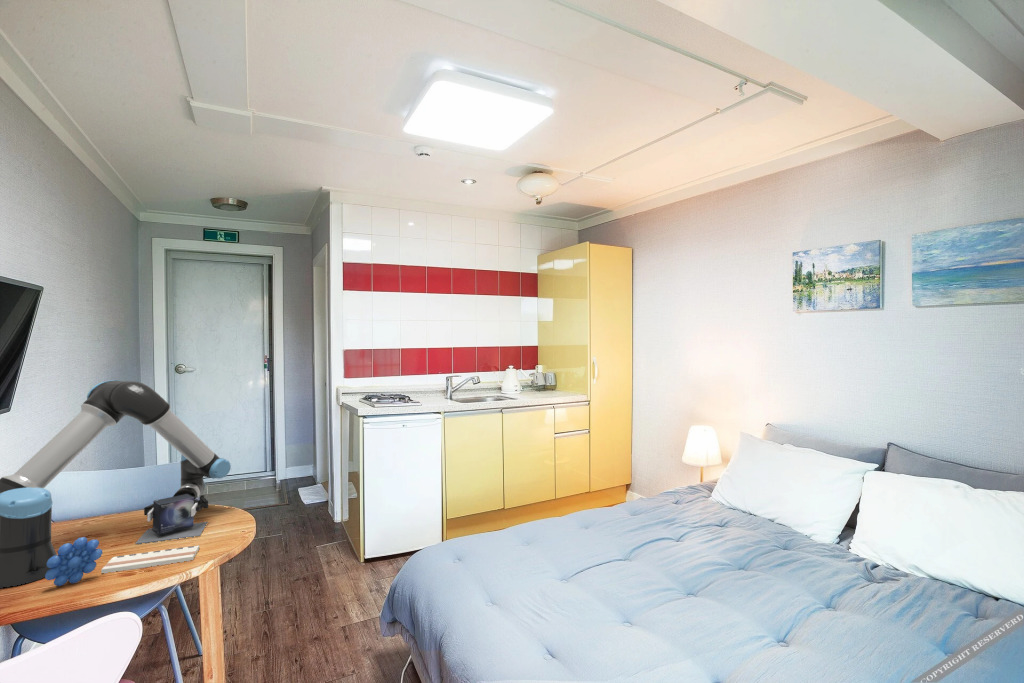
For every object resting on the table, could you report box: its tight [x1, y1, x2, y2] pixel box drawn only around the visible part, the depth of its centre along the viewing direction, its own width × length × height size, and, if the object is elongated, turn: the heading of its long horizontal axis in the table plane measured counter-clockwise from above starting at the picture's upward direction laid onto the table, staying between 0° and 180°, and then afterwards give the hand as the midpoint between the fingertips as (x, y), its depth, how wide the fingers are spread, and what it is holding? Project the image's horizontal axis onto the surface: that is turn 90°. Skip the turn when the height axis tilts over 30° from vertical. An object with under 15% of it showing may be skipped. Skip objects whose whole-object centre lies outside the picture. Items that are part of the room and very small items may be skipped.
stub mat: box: [134, 521, 209, 545], centre depth 167 cm, size 18×14×1 cm
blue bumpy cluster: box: [44, 536, 104, 587], centre depth 132 cm, size 12×7×12 cm, turn 137°
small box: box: [152, 494, 195, 535], centre depth 167 cm, size 11×6×10 cm, turn 143°
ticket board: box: [100, 545, 200, 574], centre depth 145 cm, size 22×9×1 cm, turn 113°
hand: (170, 514), depth 163 cm, fingers closed on small box, 12 cm apart
